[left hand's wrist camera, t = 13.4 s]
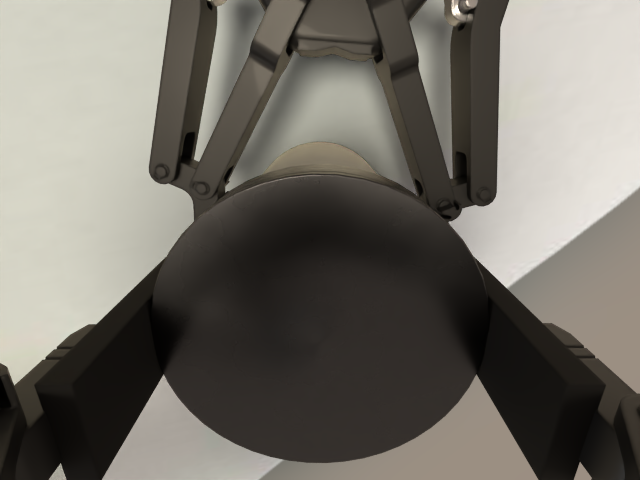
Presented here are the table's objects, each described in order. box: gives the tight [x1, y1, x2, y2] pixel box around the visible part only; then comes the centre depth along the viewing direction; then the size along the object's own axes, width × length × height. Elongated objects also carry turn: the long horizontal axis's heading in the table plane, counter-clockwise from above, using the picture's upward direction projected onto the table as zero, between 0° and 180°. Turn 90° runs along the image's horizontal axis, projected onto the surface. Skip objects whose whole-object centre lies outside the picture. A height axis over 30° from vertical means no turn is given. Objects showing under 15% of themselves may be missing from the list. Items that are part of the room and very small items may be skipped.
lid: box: [151, 164, 490, 463], centre depth 11 cm, size 10×10×2 cm
